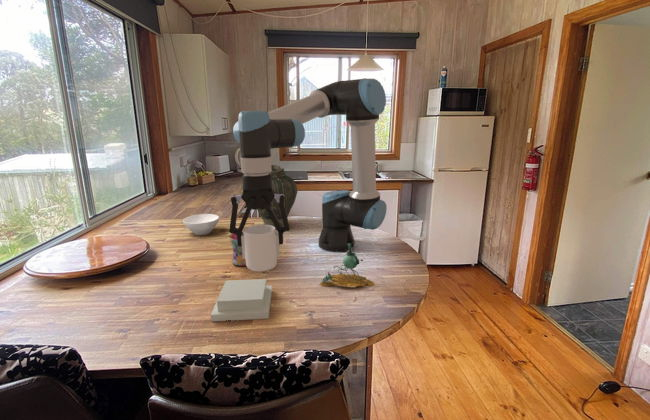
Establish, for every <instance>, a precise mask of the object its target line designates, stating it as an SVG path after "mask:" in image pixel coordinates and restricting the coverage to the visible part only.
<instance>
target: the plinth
mask: <svg viewBox="0 0 650 420" xmlns="http://www.w3.org/2000/svg"><path fill="white" fill-rule="evenodd" d="M272 297H273V285H267V278H260V279H259V278H258V279H257V278H256V279H255V278H254V279H239V280H238V279H236V280H234V279H233V280H225V281H224V284H223V286H222V287H221V291H220V293H219V295H218V297H217V300H216V302H215V304H214V307H213V309H212V310H211V313H210V319H211V320H210V321H212V322H224V321H225V322H228V320H231V321H246V320H249V321H250V320H263V319H270V310H271V303H272ZM226 320H227V321H226Z"/></svg>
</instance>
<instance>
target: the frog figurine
mask: <svg viewBox="0 0 650 420" xmlns="http://www.w3.org/2000/svg"><path fill="white" fill-rule="evenodd" d="M348 249H349V250H348V251H347V253H346V255H344V257H343V259H342V263H343V264H342V265H341V266H338V265H335V266H334V267H333V269H336V267H337V268H339V269H338V270H337V273H338V274H331V273H330V270H328V272H327V273H328V274H325V276H324V278H323V279H322V281H320V282H319V285H320V286H322V287H331V286H332V287H333V286H338V287H345V288H357V287H365V286H374V285H376V284H375V282H374V281H372V280H370V279H367V277H366V276H362V275H359V273H358V272H357V271H356V270H354V269H355V268H357V266H358V265H359V264H360V262H364V259H359V257H358V256H357V255H356V252H355V249H353V248H352V249H351V244H350V243H348ZM343 266H344V268H343ZM348 270H351V271H352V273H351V274H349V273H348ZM339 271H345V272H346V273H343V272H339Z"/></svg>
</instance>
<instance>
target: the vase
mask: <svg viewBox="0 0 650 420" xmlns="http://www.w3.org/2000/svg"><path fill="white" fill-rule="evenodd" d="M271 170H272V171H271V172H270V174H271V175H272V190H273V192H274V194H284V206H285V210H286V214H287V218H288V217H289V214H290V213H291V209H292V208H293V207H294V204H295V202H296V198H297V195H298V186H297V184H296V181H295V180H294V179H293V178H292V177H291V176H288V175H286V173H285V169H284V168H282V167H281V166H280V165H277V164H271ZM270 205H271V207H272V209H273V211H274V213H275V215H276V217H277V218H278V220H279V222H280V224H281V226H282V227H283V226H284V223H283V219H282V215H281V211H280V207H279V203H278V202H277V201H276V199H275V198H274V199H273V200H272V202H271V203H270ZM256 211H257V212H258V213H259V216H260V217H261V219H262V221H263V222H262V223H263V225H271V226H274V227H275V225H274V223H273V222H272V220H271V218H270V216H269V214H268V213H267V211H266V209H256ZM275 229H276V227H275Z"/></svg>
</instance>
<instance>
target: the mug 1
mask: <svg viewBox="0 0 650 420" xmlns="http://www.w3.org/2000/svg"><path fill="white" fill-rule="evenodd" d="M242 233H243V231H242ZM227 238H228V240H229V241H230V244H231V246H232V251H233V254H232V259H231V264H233V265H236V266H240V267H241V266H246V259H243V255H242V246H238V243H237V235H236V234H233V233H232V234H231V233H230V234H229V235H228V237H227Z"/></svg>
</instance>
